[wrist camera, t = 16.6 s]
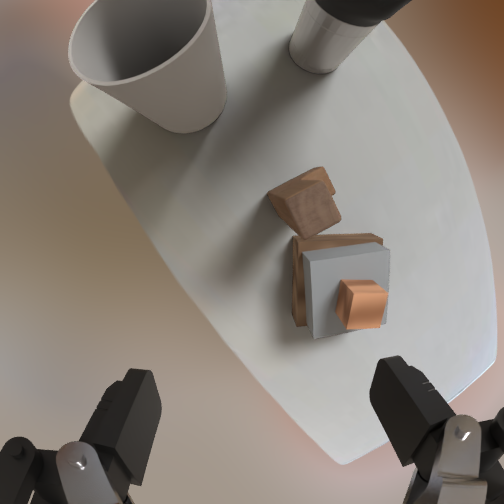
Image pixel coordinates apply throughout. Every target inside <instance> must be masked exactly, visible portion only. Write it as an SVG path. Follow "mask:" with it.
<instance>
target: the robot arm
mask: <svg viewBox="0 0 504 504" xmlns="http://www.w3.org/2000/svg"><path fill="white" fill-rule="evenodd" d="M410 1H411V0H306V2H305V4H304V7H303V9H302V12H301V14H300V17H299V20H298V22H297V25H296V27H295V30H294V32H293V35H292V38H291V40H290V44H289V52H290V56H291V57H292V59H293V60H294V62H295V63H296V64H297V65H298V66H300V67H301V68H303V69H304V70H306V71H309V72H312V73H317V74H325V73H329V72H332V71H334V70H335V69H336V68H337V67H338V66H339V65H340V64H341V63H342V62H343V61H344V60H345V59H346V58H347V57H348V56H349V54H350V53H351V52H352V51H353V50H354V49H355V48H356V47H357V46H358V45H359V44H360V43H361V42H362V41H363V40H364V39H365V38H366V36H367V35H368V34H369V33H370V32H371V31H372V30H373V29H374V28H375V27H376V26H377V25H378V24H379V23H380V22H381V21H383V20H386V19H388V18H390V17H391V16H392V15H394V14H395V13H396V12H397V11H398V10H400V9H401V8H402V7H403V6H405V5H406V4H407V3H409V2H410ZM370 402H371V405H372V407H373V409H374V411H375V412H376V414H377V416H378V418H379V420H380V422H381V424H382V426H383V428H384V430H385V432H386V434H387V436H388V438H389V440H390V442H391V444H392V446H393V448H394V450H395V452H396V454H397V456H398V458H399V460H400V462H401V464H402V466H403V467H404V466H407V465H409V464H412V463H415V465H416V468H415V470H414V472H413V475H412V478H411V481H410V484H409V487H408V490H407V493H406V496H405V498H404V501H403V504H504V469H503V468H502V466H501V464H500V463H499V461H498V459H500V457H501V456H502V455H503V454H504V407H503V408H502V409H501V410H500V411H499V412H498V414H497V416H496V417H495V418H494V419H492V420H487V421H482V422H477V421H476V419H474V418H473V417H471V416H468V415H456V414H455V413H454V411H453V410H452V409H451V408H450V406H449V405H448V404H447V402H446V401H445V400H444V399H443V397H442V396H441V395H440V394H439V392H438V391H437V390H435V387H434V386H433V385H432V384H431V383H429V380H428V379H427V377H426V376H425V375H424V374H423V373H422V372H421V371H419V370H418V369H416V368H415V367H413V366H408V365H407V363H406V362H405V361H404V360H403V358H402V357H401V356H393V357H388V358H383V359H380V360H379V361H378V363H377V367H376V370H375V374H374V378H373V381H372V384H371V388H370ZM161 410H162V407H161V400H160V397H159V393H158V390H157V387H156V383H155V380H154V376H153V373H152V372H151V371H150V370H142V369H132V368H131V369H129V370H128V372H127V374H126V375H125V377H124V379H123V381H116V382H114V383H113V384H112V385H111V386H110V387H108V388H107V389H106V391H105V393H104V395H103V396H102V398H101V401H100V402H99V404H98V405H97V409H95V411H94V413H93V415H92V417H91V418H90V421H89V422H88V424H87V426H86V428H85V430H84V432H83V434H82V436H81V438H80V439H79V441H74V442H69V443H67V444H65V445H63V446H62V447H61V448H60V449H59V451H53V450H41V449H36V448H35V446H34V445H33V444H32V442H30V441H29V440H28V439H27V438H24V437H14V438H12V439H10V440H8V441H7V442H6V443H5V445H4V446H3V448H2V450H1V452H0V504H28V501H29V499H30V496H31V493H32V491H33V490H34V491H35V492H34V495H33V498H32V500H31V503H30V504H135V503H134V502H133V500H132V498H131V496H130V495H129V493H128V489H129V486H130V484H134V485H139V486H141V485H142V481H143V477H144V473H145V470H146V466H147V462H148V459H149V455H150V452H151V448H152V444H153V441H154V437H155V434H156V430H157V427H158V424H159V420H160V417H161Z"/></svg>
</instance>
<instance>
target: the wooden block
mask: <svg viewBox="0 0 504 504" xmlns="http://www.w3.org/2000/svg"><path fill="white" fill-rule="evenodd" d="M334 194H335V189H334V187H333V185H332V183H331V181H330V179H329V177H328V175H327V173H326V171H325V169H324V167H316V168H313V169H311V170H309V171H307V172H305V173H303V174H301V175H299V176H297V177H295V178H293V179H291V180H289V181H287V182H285V183H284V184H282V185H280V186H278V187H276V188H274V189H272V190H270V191H268V193H267V195H268V197H269V199H270V201H271V203H272V204H273V206H274V208H275V210H276V212H277V214H278V216H279V217H280V218H281V219H283V220H284V221H285V222H286V223H287V224H288V225H289V226H290V227H291V228H292V229H293V230H294V231H295V232H296V233H297V234H298V235H299V236H300V237H301V238H302V239H303V240H307V239H309V238H311V237H313V236H314V235H316V234H318V233H320V232H322V231H324V230H325V229H327V228H329V227H331V226H333V225H335V224H336V223H338V222H340V221H341V215H340V213H339V211H338V209H337V207H336V205H335V202H334V200H333V198H332V195H334Z"/></svg>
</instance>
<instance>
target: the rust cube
mask: <svg viewBox="0 0 504 504" xmlns="http://www.w3.org/2000/svg"><path fill="white" fill-rule="evenodd" d="M387 297H388V292H386V291H385V290H384V289H383V288H382V287H380V286H379V285H378V284H377V283H376V282H375V281H373V280H349V279H341V282H340V288H339V294H338V299H337V305H336V310H335V313H336V314H337V316H338V317H339V319H340V320H341V322H342V323H343V325H344V326H345V328H346V330H347V329H367V328H380V325H381V321H382V318H383V314H384V310H385V306H386V301H387Z"/></svg>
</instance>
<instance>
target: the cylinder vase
mask: <svg viewBox="0 0 504 504" xmlns="http://www.w3.org/2000/svg"><path fill="white" fill-rule="evenodd" d="M68 57H69V62H70V65H71V67H72V69H73V71H74V72H75V74H76V75H77V76H78V77H79V78H81V79H82V80H84V81H86V82H88V83H89V84H91V85H93V86H95V87H96V88H98V89H100V90H102V91H103V92H105V93H107V94H109V95H110V96H112V97H114V98H115V99H117V100H119V101H120V102H122V103H124V104H126V105H127V106H129V107H130V108H132V109H134V110H135V111H137V112H139V113H140V114H142V115H144V116H145V117H147V118H148V119H150V120H152V121H153V122H155V123H156V124H158V125H160V126H161V127H163V128H164V129H166V130H168V131H171V132H175V133H192V132H196V131H199V130H201V129H203V128H205V127H207V126H209V125H210V124H211V123H213V122H214V121H215V120H216V119H217V118H218V116H219V115H220V114H221V112H222V110H223V108H224V106H225V103H226V99H227V88H226V83H225V77H224V71H223V65H222V60H221V54H220V48H219V42H218V37H217V31H216V25H215V20H214V14H213V8H212V3H211V0H95V1H94V2H93V3H92V4H91V5H90V6H89V7H88V8H87V10H86V11H85V12H84V13H83V15H82V16H81V17H80V19H79V20H78V22H77V24H76V26H75V28H74V30H73V32H72V35H71V38H70V41H69V47H68Z"/></svg>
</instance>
